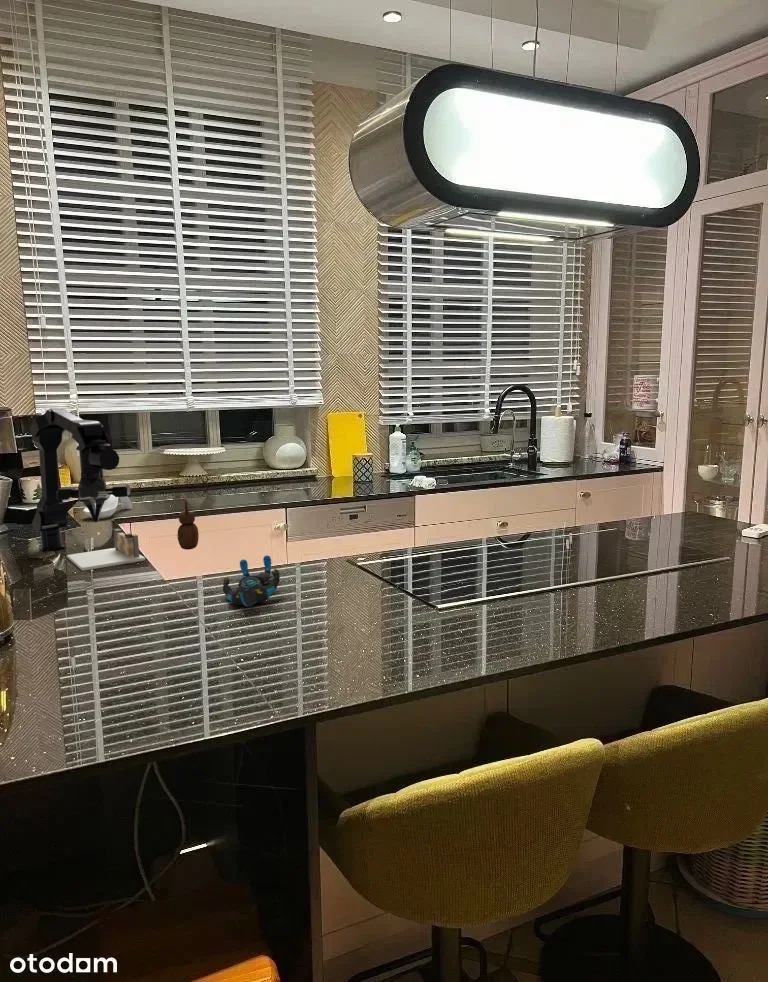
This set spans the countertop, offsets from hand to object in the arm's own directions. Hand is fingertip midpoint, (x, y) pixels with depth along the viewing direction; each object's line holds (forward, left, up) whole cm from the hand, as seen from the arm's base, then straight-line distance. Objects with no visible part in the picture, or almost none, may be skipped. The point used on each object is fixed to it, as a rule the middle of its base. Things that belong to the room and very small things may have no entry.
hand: (96, 522), depth 211 cm
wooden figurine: (+1, +26, -12) cm, 28 cm away
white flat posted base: (-2, +2, -11) cm, 12 cm away
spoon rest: (-76, +22, -12) cm, 80 cm away
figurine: (+58, +21, -12) cm, 63 cm away
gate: (-2, +8, -10) cm, 13 cm away
